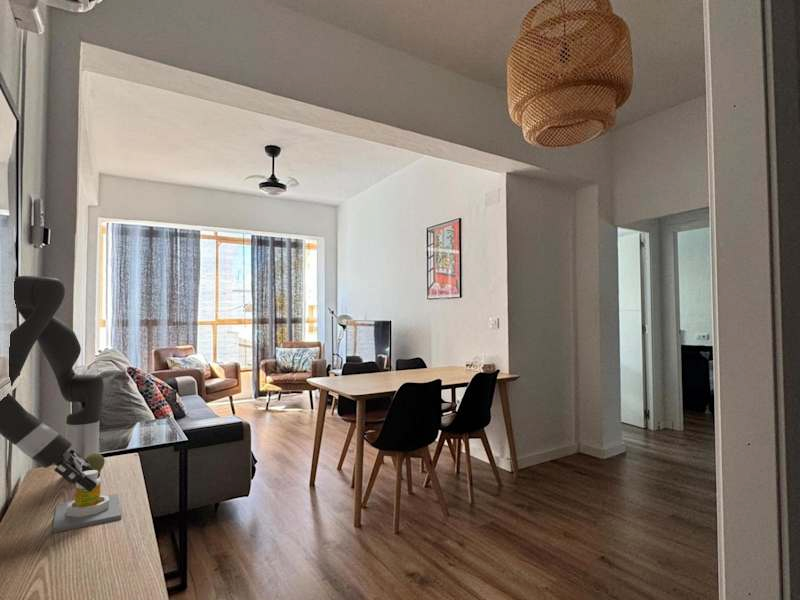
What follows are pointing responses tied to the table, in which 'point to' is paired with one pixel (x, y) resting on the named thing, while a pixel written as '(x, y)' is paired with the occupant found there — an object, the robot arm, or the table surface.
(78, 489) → the supplement bottle
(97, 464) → the light bulb
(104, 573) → the table surface
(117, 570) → the table surface
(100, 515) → the collar plate
